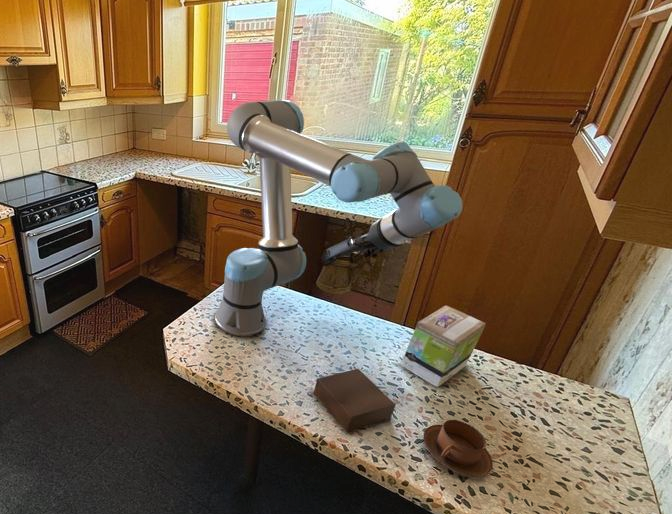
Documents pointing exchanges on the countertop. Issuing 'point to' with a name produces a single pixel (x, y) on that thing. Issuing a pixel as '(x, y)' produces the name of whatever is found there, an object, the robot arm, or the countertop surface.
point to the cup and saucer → (459, 448)
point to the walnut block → (353, 400)
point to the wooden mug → (341, 273)
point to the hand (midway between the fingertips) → (338, 259)
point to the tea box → (442, 345)
